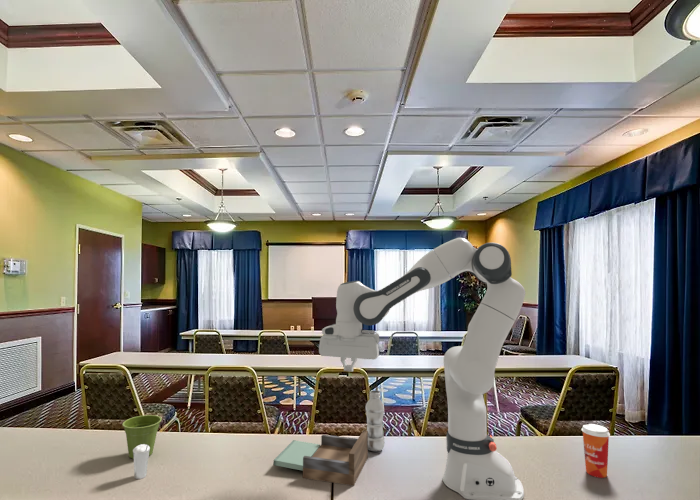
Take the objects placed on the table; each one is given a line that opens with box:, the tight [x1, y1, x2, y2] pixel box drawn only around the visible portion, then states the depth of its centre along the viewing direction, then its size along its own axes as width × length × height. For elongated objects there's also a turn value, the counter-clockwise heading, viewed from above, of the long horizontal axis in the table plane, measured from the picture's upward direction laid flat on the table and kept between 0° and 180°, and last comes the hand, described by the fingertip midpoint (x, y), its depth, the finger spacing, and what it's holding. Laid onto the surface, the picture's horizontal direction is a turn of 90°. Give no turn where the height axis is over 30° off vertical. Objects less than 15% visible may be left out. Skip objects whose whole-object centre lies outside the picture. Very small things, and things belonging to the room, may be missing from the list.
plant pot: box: [121, 414, 163, 460], centre depth 137 cm, size 12×12×11 cm
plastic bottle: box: [365, 389, 386, 452], centre depth 143 cm, size 6×7×20 cm
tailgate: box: [273, 439, 321, 472], centre depth 133 cm, size 2×16×10 cm
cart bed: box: [302, 430, 369, 487], centre depth 129 cm, size 16×18×9 cm
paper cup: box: [581, 423, 611, 479], centre depth 127 cm, size 8×8×14 cm
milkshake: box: [133, 444, 150, 480], centre depth 123 cm, size 4×5×10 cm
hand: (348, 370), depth 136 cm, fingers closed
